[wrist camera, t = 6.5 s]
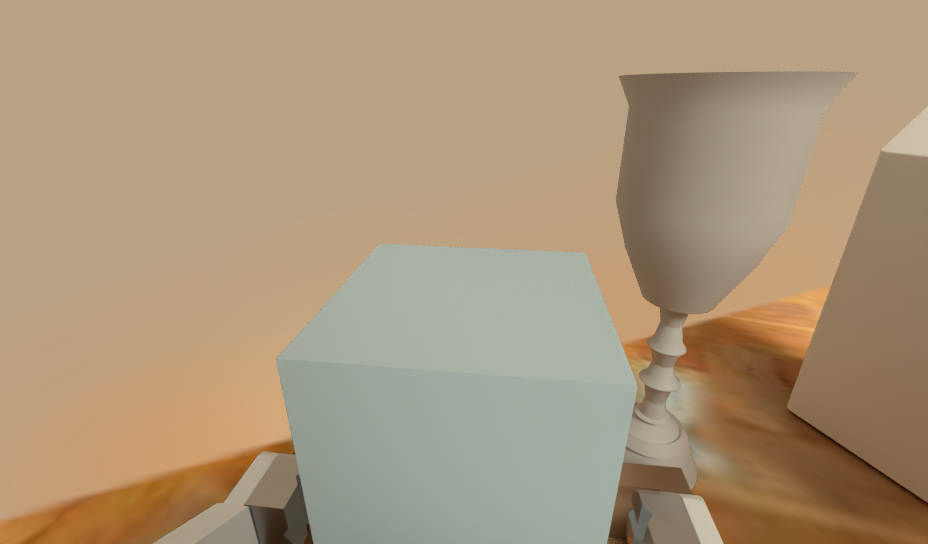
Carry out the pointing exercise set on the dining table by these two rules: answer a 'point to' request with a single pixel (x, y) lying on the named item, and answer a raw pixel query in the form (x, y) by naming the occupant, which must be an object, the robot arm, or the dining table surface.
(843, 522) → the dining table surface
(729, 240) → the chalice
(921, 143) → the milk carton
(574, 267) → the block
